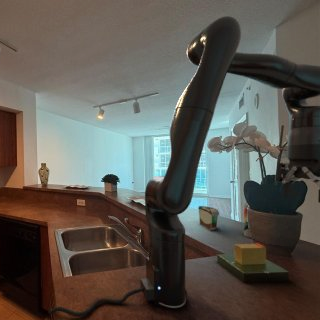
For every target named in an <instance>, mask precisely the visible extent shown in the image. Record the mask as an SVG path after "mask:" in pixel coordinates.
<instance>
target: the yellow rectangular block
mask: <svg viewBox="0 0 320 320" xmlns="http://www.w3.org/2000/svg"><path fill="white" fill-rule="evenodd" d="M234 254H235V261H237V262H238V263H240V264H241V265H254V264H266V260H267V246H265V245H263V244H261V243H258V242H255V243H235V244H234Z"/></svg>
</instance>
